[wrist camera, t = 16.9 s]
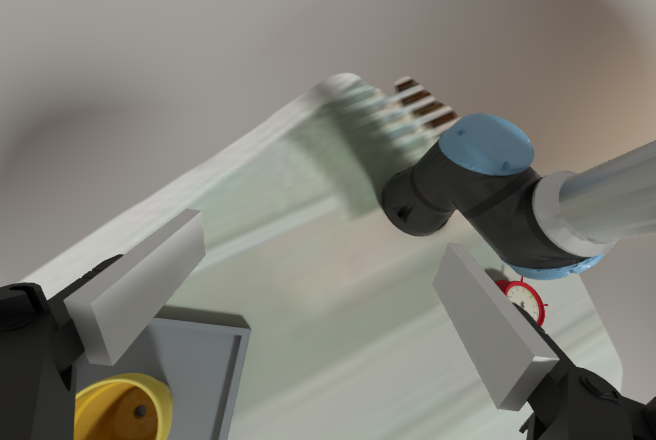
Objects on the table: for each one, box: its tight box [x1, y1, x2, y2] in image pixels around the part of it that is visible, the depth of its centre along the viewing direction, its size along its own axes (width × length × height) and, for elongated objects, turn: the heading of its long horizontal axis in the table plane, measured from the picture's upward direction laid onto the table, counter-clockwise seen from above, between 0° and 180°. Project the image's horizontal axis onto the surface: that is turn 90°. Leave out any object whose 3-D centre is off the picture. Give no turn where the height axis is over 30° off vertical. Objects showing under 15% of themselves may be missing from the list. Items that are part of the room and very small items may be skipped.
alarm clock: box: [494, 276, 548, 327], centre depth 51 cm, size 10×6×15 cm
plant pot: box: [74, 373, 173, 440], centre depth 29 cm, size 10×10×10 cm
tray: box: [74, 317, 251, 440], centre depth 33 cm, size 22×22×2 cm
